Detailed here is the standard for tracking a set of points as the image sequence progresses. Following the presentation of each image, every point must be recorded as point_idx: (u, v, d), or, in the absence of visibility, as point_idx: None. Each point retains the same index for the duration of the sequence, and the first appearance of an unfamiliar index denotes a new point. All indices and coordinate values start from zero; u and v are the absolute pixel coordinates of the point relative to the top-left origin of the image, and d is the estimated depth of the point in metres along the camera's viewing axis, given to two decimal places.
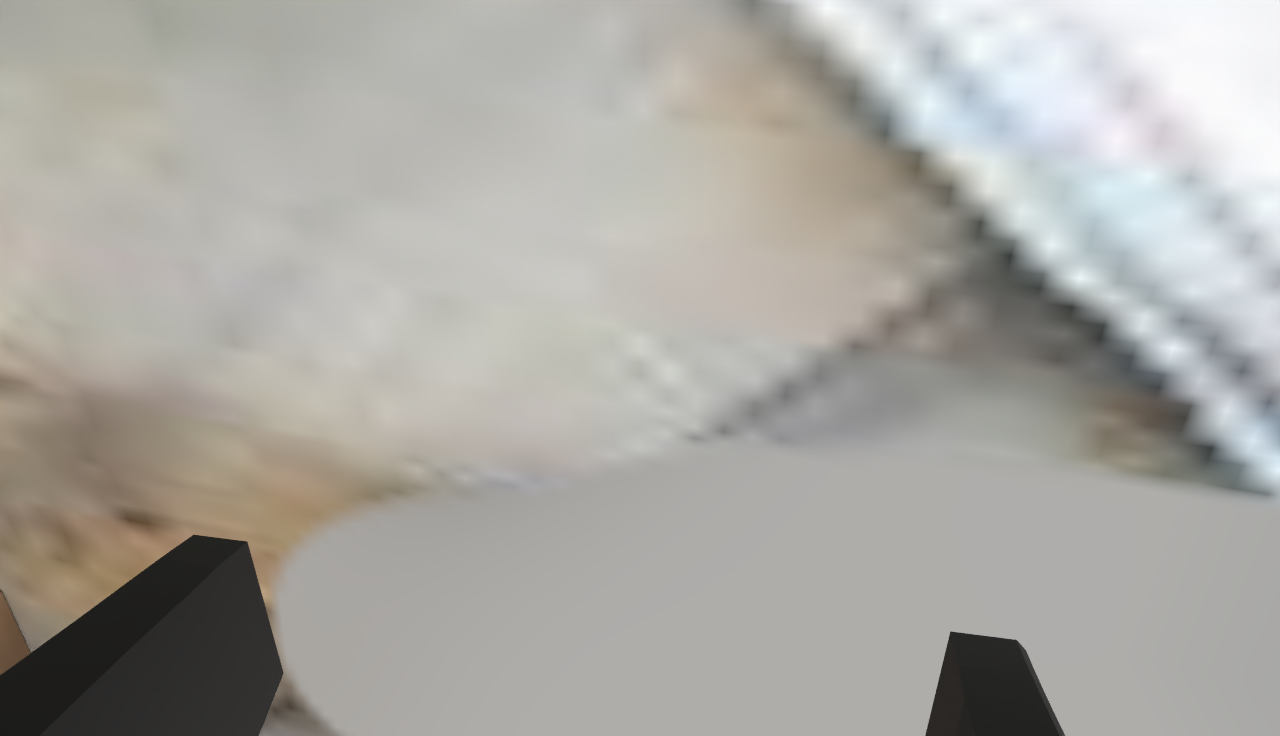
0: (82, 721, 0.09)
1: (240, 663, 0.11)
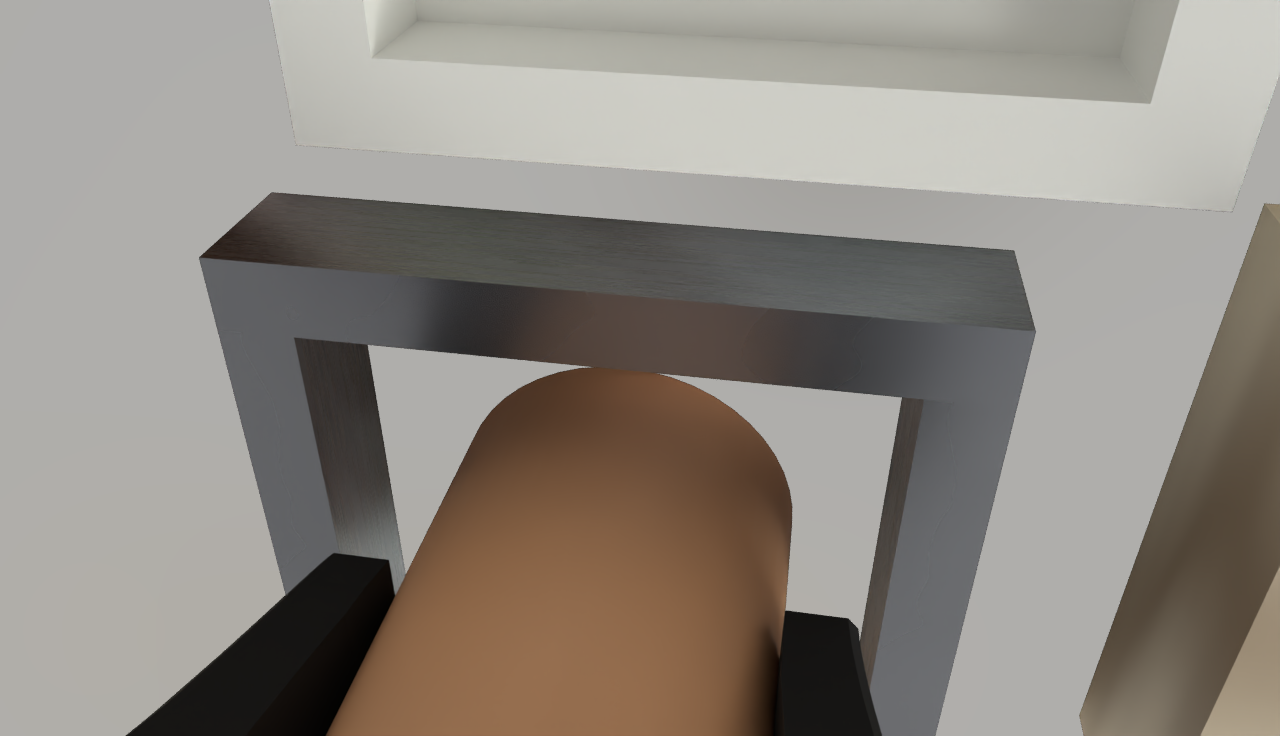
0: None
1: None
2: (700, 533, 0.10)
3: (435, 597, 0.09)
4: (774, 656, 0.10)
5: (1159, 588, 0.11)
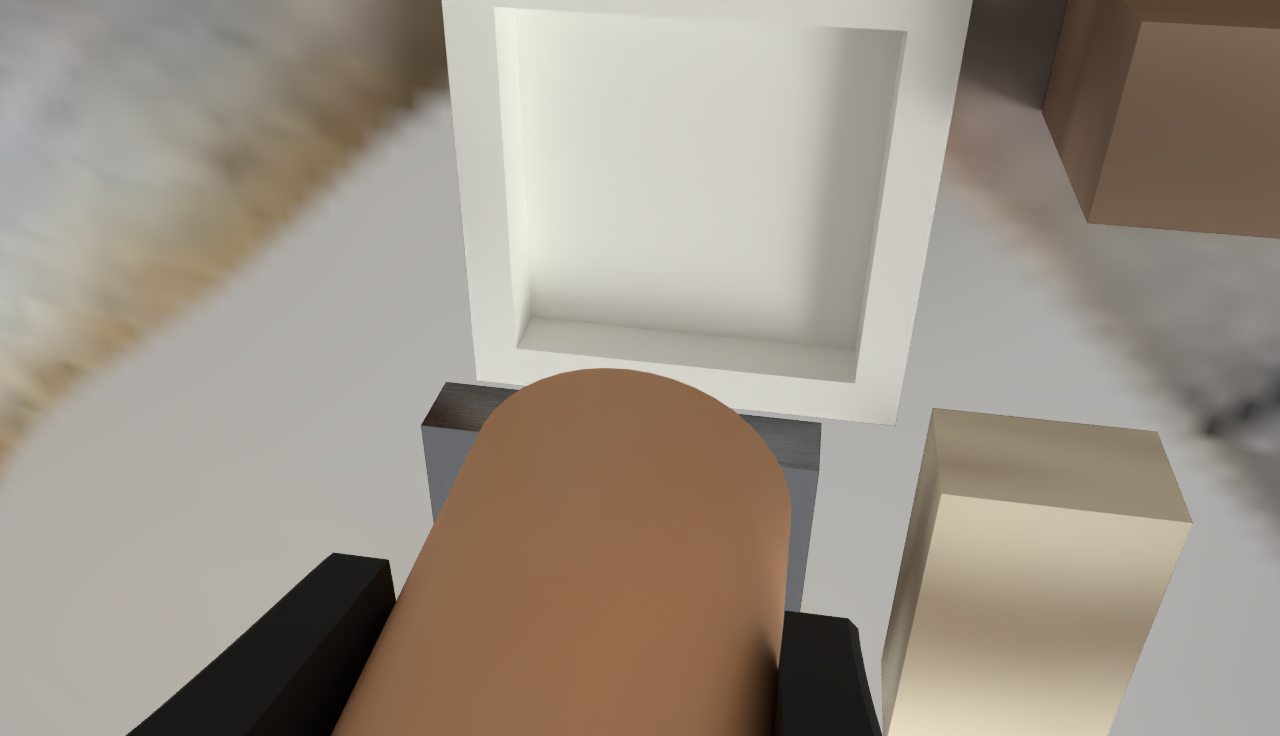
0: None
1: None
2: (702, 535, 0.10)
3: (442, 597, 0.09)
4: (773, 656, 0.10)
5: (902, 590, 0.21)
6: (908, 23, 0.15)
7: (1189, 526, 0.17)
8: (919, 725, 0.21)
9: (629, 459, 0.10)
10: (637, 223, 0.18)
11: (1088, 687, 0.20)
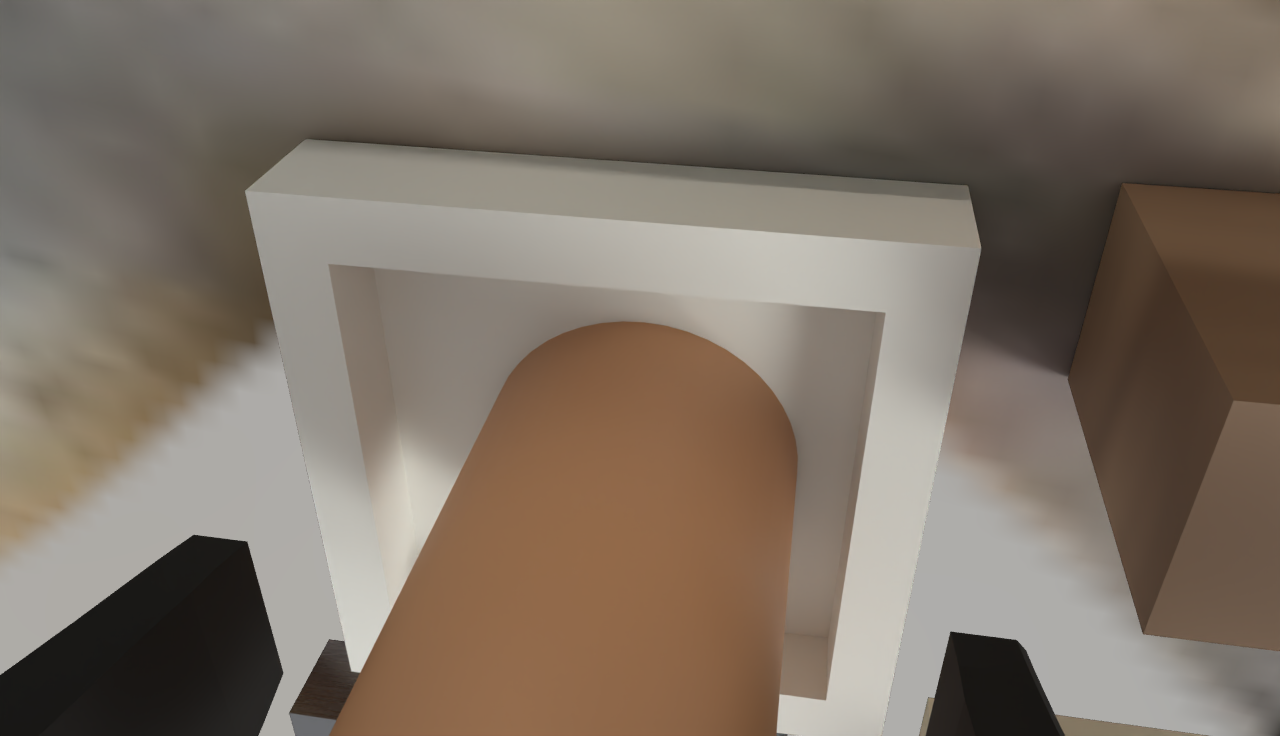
0: (82, 721, 0.09)
1: (240, 663, 0.11)
2: (715, 468, 0.11)
3: (476, 518, 0.10)
4: (782, 582, 0.11)
5: None
6: (886, 303, 0.11)
7: None
8: None
9: (647, 400, 0.11)
10: None
11: None
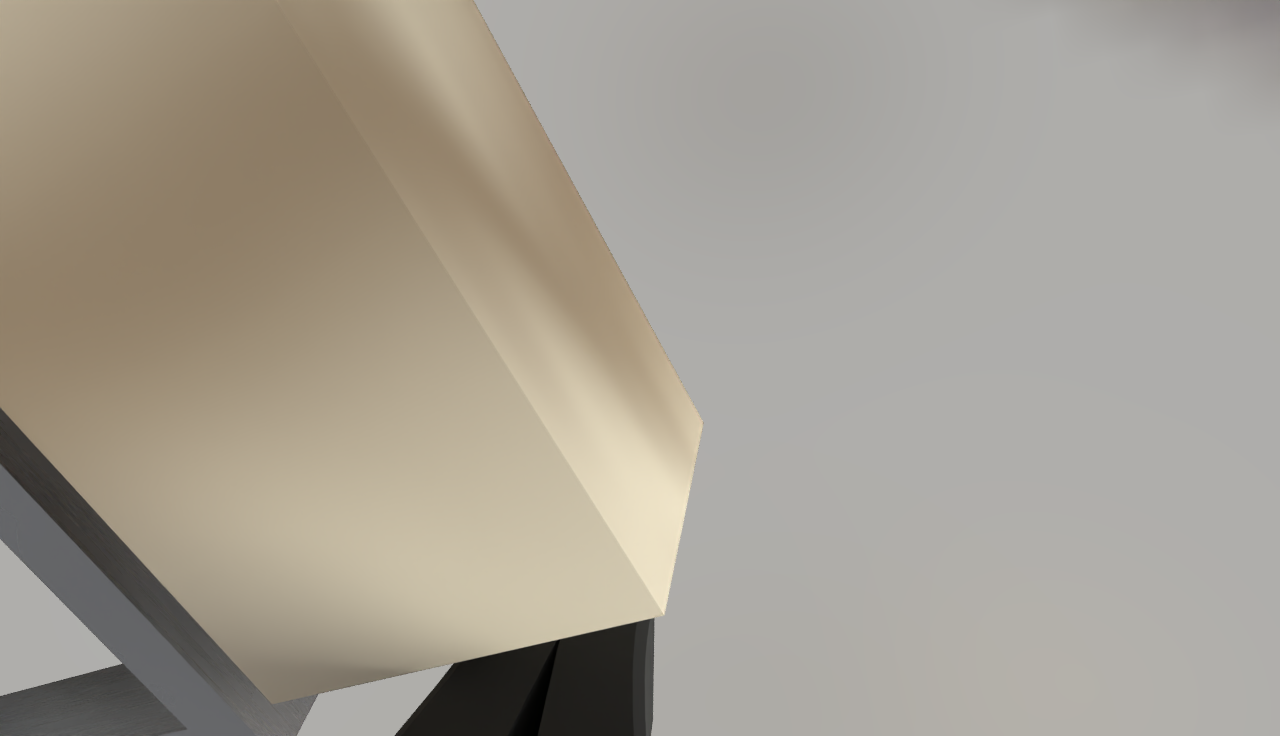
0: None
1: None
2: None
3: None
4: None
5: None
6: None
7: None
8: (244, 609, 0.09)
9: None
10: None
11: (396, 346, 0.07)
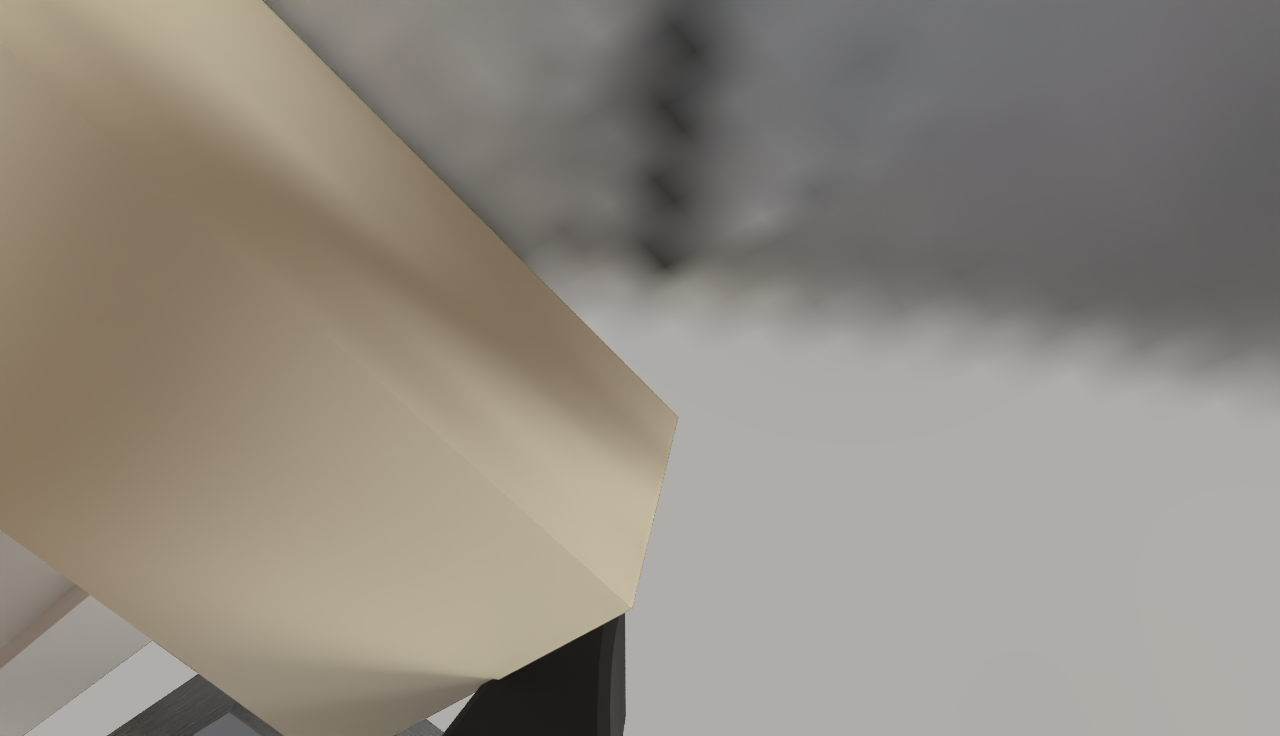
0: None
1: None
2: None
3: None
4: None
5: None
6: None
7: None
8: (272, 682, 0.09)
9: None
10: None
11: (300, 405, 0.08)
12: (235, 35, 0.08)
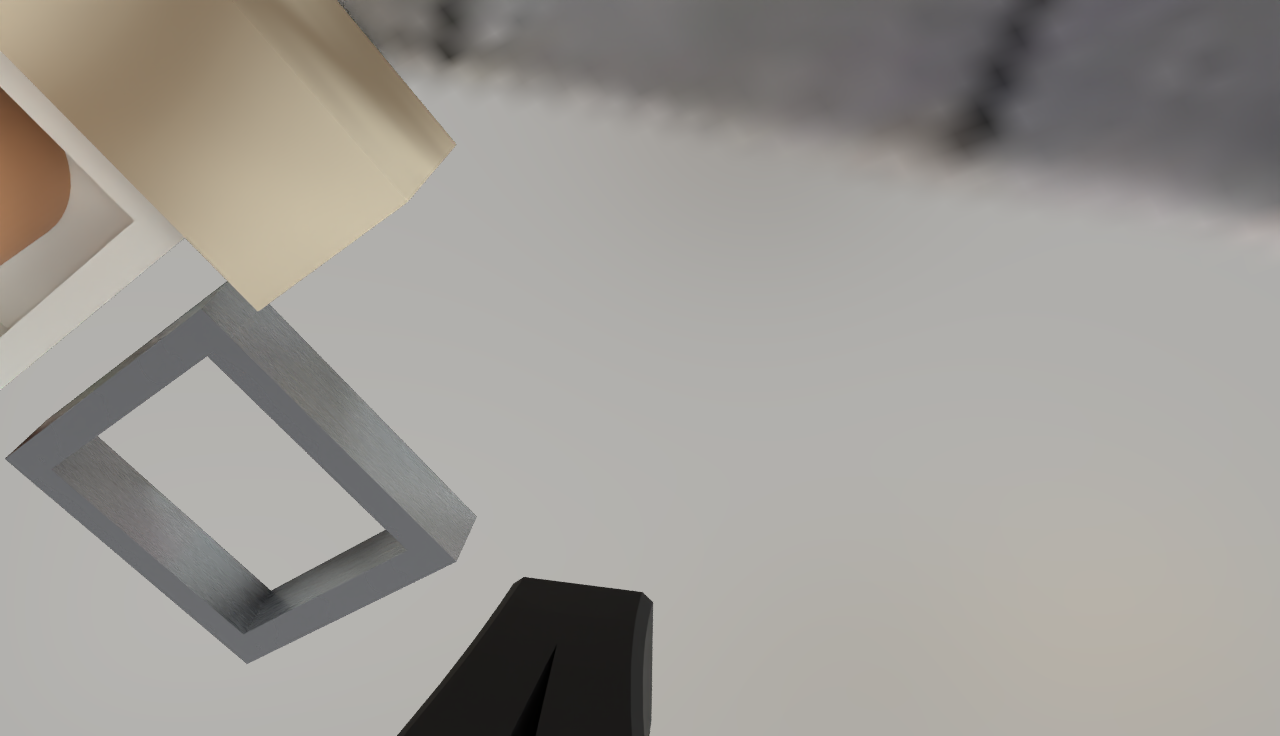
0: None
1: None
2: None
3: None
4: None
5: None
6: None
7: None
8: (232, 251, 0.18)
9: None
10: None
11: (258, 83, 0.17)
12: None
